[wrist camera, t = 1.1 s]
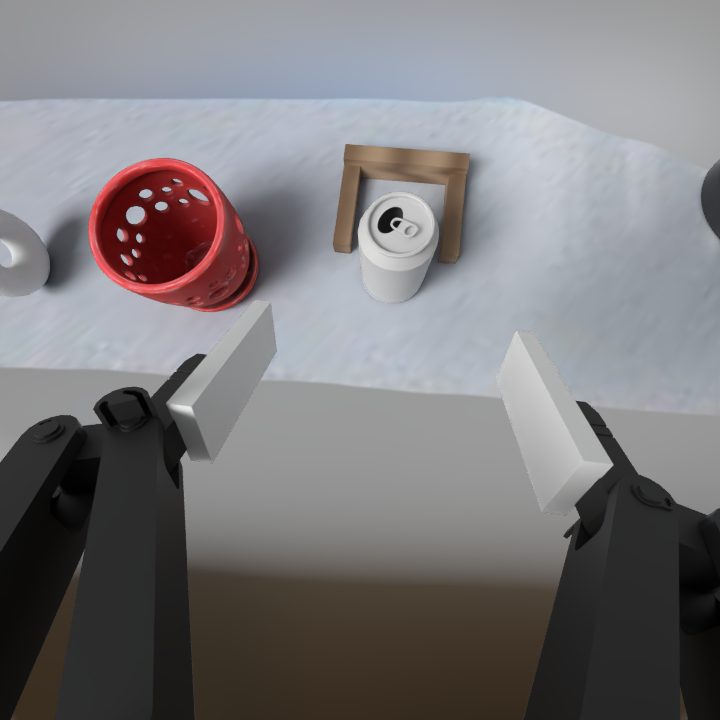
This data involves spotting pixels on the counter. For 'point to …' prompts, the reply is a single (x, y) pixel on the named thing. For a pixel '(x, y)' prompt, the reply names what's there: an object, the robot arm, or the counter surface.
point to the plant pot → (173, 238)
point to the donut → (22, 258)
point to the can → (396, 245)
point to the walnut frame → (410, 169)
